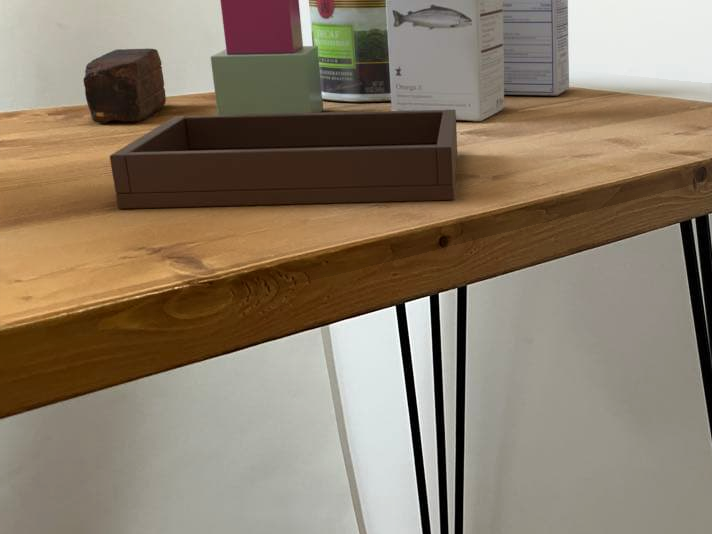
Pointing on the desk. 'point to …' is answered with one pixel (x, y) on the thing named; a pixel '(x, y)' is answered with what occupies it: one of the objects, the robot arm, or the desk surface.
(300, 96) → the base block
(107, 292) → the desk surface
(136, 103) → the brick
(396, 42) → the white packaging box
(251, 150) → the tray
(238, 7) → the top block
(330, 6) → the coffee can
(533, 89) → the medicine box
